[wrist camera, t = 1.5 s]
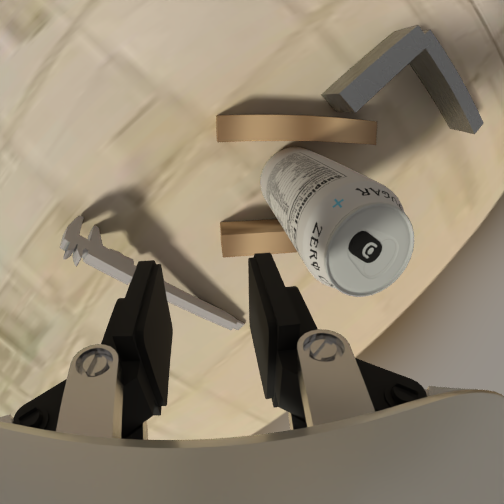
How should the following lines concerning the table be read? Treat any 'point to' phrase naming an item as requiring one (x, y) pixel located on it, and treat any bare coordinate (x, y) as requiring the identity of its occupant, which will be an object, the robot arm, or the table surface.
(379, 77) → the gray l-shaped block
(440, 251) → the table surface
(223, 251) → the guide channel
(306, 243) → the energy drink can
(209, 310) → the caliper
